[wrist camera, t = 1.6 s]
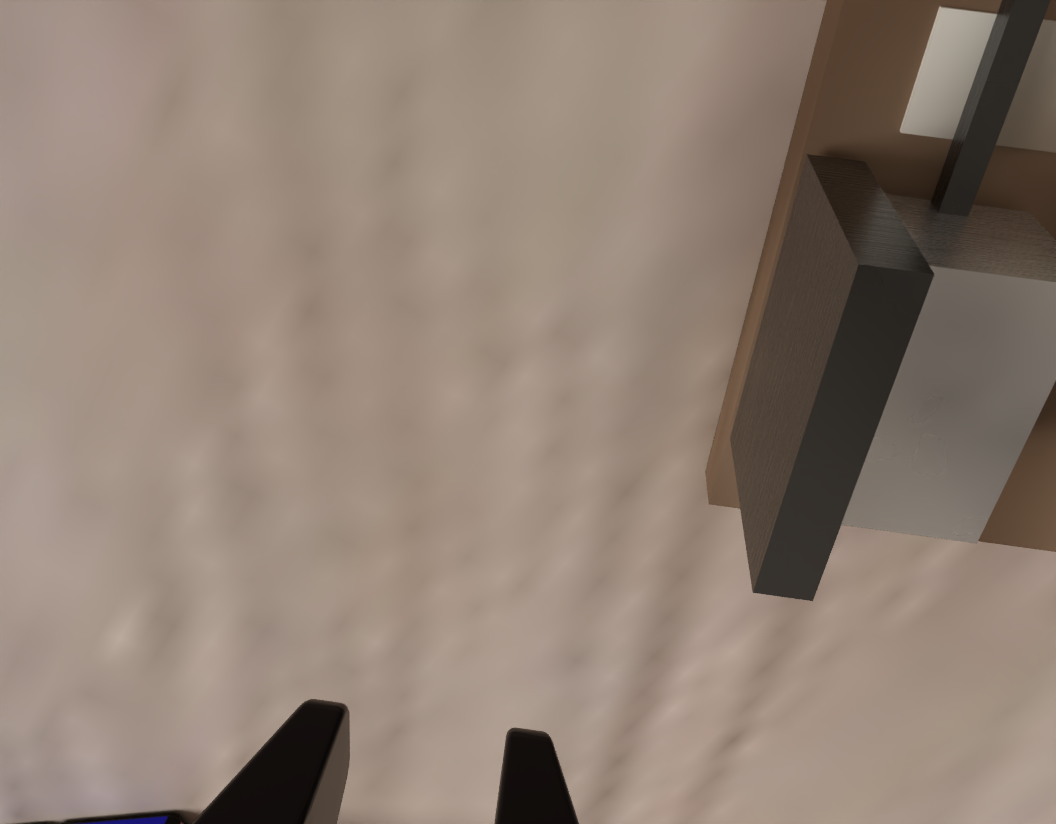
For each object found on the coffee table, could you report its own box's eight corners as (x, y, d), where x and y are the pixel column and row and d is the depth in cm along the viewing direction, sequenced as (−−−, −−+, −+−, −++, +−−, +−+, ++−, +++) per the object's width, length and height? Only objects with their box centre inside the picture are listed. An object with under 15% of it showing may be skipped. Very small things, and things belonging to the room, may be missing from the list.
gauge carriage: (1153, -86, 14) (1345, -37, 10) (923, 465, 19) (992, 626, 16) (879, -118, 14) (970, -84, 10) (729, 438, 20) (752, 592, 16)
